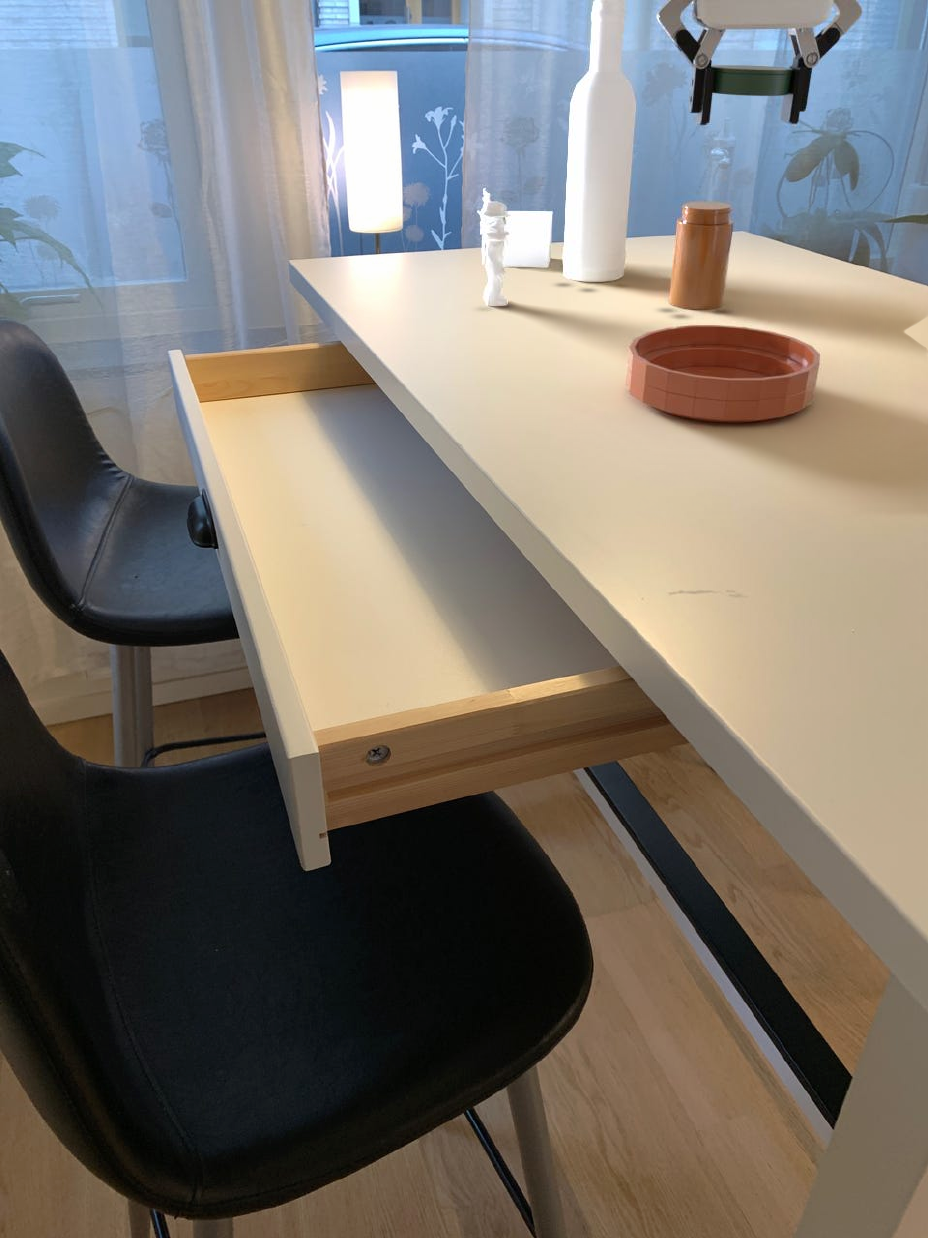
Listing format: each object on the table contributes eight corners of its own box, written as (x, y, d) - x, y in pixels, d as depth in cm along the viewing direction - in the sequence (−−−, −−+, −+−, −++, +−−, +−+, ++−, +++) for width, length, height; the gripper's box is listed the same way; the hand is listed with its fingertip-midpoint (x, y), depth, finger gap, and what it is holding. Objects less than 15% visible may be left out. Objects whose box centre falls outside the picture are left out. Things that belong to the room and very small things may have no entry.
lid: (691, 89, 82) (694, 64, 81) (760, 89, 84) (764, 65, 83) (732, 95, 77) (736, 69, 76) (804, 95, 78) (809, 69, 77)
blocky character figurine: (475, 292, 119) (475, 185, 113) (508, 291, 119) (509, 184, 113) (479, 312, 112) (479, 198, 105) (514, 311, 112) (516, 198, 105)
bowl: (782, 366, 94) (789, 324, 92) (836, 427, 80) (846, 379, 78) (615, 367, 94) (618, 325, 92) (640, 428, 81) (645, 380, 78)
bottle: (550, 277, 126) (560, -1, 110) (580, 265, 131) (594, -1, 115) (606, 285, 122) (625, -1, 106) (634, 273, 127) (657, -1, 111)
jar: (711, 294, 117) (723, 199, 112) (731, 308, 112) (744, 208, 107) (661, 297, 117) (671, 201, 111) (679, 310, 111) (689, 210, 106)
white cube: (503, 266, 131) (503, 218, 128) (507, 257, 136) (507, 210, 133) (548, 267, 130) (550, 219, 127) (550, 257, 135) (552, 211, 132)
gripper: (667, -157, 69) (645, 128, 78) (918, -161, 68) (865, 126, 78) (652, -143, 75) (633, 119, 85) (881, -147, 75) (837, 117, 84)
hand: (745, 120), depth 81 cm, fingers closed on lid, 6 cm apart
